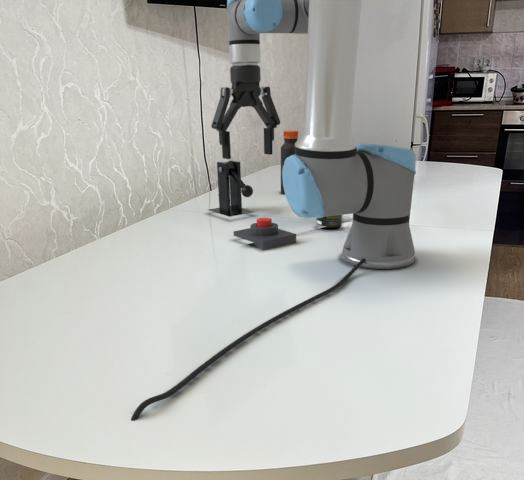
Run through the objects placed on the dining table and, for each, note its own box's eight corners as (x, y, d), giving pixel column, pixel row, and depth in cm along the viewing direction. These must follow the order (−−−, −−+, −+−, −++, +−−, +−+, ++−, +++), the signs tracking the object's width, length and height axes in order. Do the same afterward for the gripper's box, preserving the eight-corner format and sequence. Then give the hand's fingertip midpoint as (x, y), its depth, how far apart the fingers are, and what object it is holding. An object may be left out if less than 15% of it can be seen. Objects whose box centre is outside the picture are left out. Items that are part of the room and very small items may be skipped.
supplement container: (347, 228, 138) (349, 187, 133) (326, 232, 134) (328, 190, 130) (331, 223, 143) (332, 183, 138) (311, 227, 140) (312, 186, 135)
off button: (274, 226, 126) (274, 219, 125) (262, 229, 124) (262, 221, 123) (265, 224, 128) (265, 216, 127) (253, 226, 126) (253, 219, 125)
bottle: (278, 194, 181) (278, 132, 172) (282, 190, 187) (282, 130, 178) (298, 194, 180) (299, 132, 171) (301, 191, 186) (302, 130, 177)
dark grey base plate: (296, 242, 126) (296, 226, 124) (263, 250, 121) (262, 233, 119) (265, 233, 135) (265, 217, 133) (233, 240, 129) (232, 224, 127)
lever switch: (255, 216, 152) (254, 162, 146) (229, 220, 148) (227, 165, 141) (232, 209, 161) (229, 158, 154) (207, 213, 156) (203, 161, 149)
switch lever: (253, 198, 146) (256, 189, 144) (244, 200, 144) (247, 190, 142) (229, 169, 151) (232, 160, 149) (220, 170, 149) (223, 161, 147)
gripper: (275, 66, 139) (276, 151, 148) (193, 65, 125) (200, 159, 135) (293, 64, 133) (293, 153, 143) (210, 63, 120) (216, 161, 129)
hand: (248, 156), depth 139 cm, fingers open, 13 cm apart
